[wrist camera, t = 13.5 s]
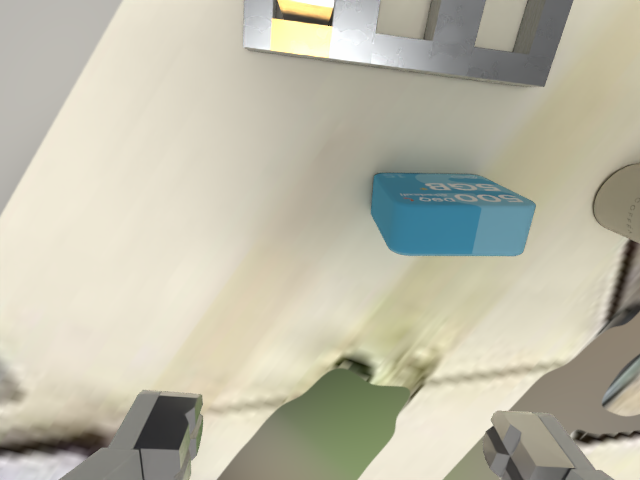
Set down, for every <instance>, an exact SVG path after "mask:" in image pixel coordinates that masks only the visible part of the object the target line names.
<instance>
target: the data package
mask: <svg viewBox="0 0 640 480" xmlns="http://www.w3.org/2000/svg"><path fill="white" fill-rule="evenodd" d="M535 207H536V205H535V203H534V202H533V201H531V200H529V199H527V198H525V197H523V196H521V195H519V194H517V193H515V192H513V191H510V190H508V189H506V188H504V187H502V186H500V185H498V184H496V183H494V182H492V181H490V180H488V179H486V178H484V177H482V176H478V175H472V174H430V173H379V174H376V175H375V176H374V182H373V194H372V206H371V215H372V217H373V219H374V221H375V223H376V225H377V227H378V229H379V231H380V233H381V234H382V236H383V238H384V240H385V242H386V244H387V246H388V248H389V249H390V250H391V251H393V252H395V253H398V254H401V255H408V256H516V255H520V254H521V253H522V252H523V251H524V247H525V244H526V240H527V236H528V233H529V229H530V225H531V222H532V218H533V215H534V211H535Z"/></svg>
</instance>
